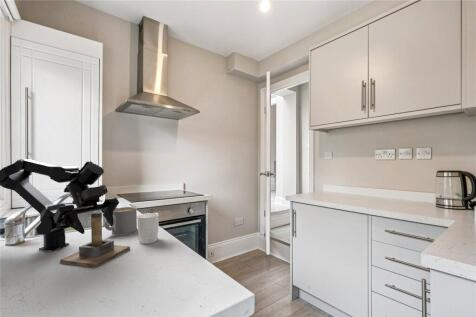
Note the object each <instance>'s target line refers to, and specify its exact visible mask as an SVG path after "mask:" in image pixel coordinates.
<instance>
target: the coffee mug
mask: <svg viewBox="0 0 476 317" xmlns="http://www.w3.org/2000/svg"><path fill="white" fill-rule="evenodd" d="M137 216H138V214H137V207H135V206H124V207H116V209H115V210H114V211H113V226H111V225H110V224H109V223H108V222H107V220H106V219H105V218H104V223H103V225H104V228H105V229H106V231H111V234H112V235H113V234H115V235H114V236H125V234H126V235H130V234H133V233H135V232H138V220H137Z"/></svg>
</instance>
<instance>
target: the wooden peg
mask: <svg viewBox="0 0 476 317" xmlns="http://www.w3.org/2000/svg"><path fill="white" fill-rule="evenodd" d="M102 213H103V212H94V213H91V214H90V220H91V221H90V227H91V229H90V232H91V239H90V240H91V242H92V246H93V247H97V246H100V245H102V240H103V222H102V220H103V217H102V216H103V214H102Z"/></svg>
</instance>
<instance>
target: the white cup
mask: <svg viewBox="0 0 476 317" xmlns="http://www.w3.org/2000/svg"><path fill="white" fill-rule="evenodd" d="M159 218H160V214H159V213H156V212H149V213H148V212H147V213H142V214H139V215H137V232H138V242H139V243H140V244H142V245H143V244H144V245H146V244H152V243H155V242H156V241H158V239H159V238H158V236H159V220H160V219H159Z"/></svg>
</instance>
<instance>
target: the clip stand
mask: <svg viewBox="0 0 476 317" xmlns="http://www.w3.org/2000/svg"><path fill="white" fill-rule="evenodd" d="M129 250H131V246H130V245H121V244H115V241H114V240H109V239H102V245H100V246H97V247H93V246H92V241H90V242H87V243H85V244H83V245H80V246H79V247H78V251H77V252H74V253H72V254H70V255H67V256H64V257H63V258H60V259H59V264H65V265H66V264H67V265H73V266H79V267H80V266H81V267H87V268H94V269H96V268H98V267H100V266H102V265H104V264H105V263H107V262H109V261H112V259H114V258H116V257H119V256H120V255H122V254H124V253H125V252H128V251H129Z"/></svg>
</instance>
